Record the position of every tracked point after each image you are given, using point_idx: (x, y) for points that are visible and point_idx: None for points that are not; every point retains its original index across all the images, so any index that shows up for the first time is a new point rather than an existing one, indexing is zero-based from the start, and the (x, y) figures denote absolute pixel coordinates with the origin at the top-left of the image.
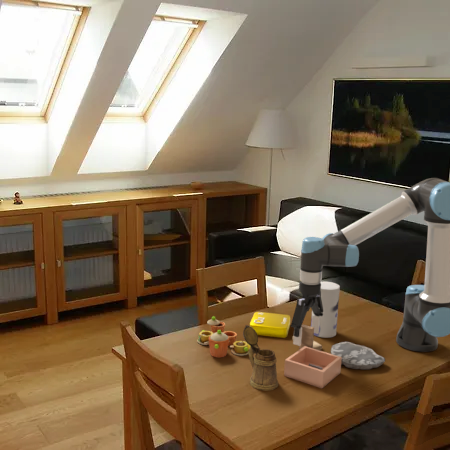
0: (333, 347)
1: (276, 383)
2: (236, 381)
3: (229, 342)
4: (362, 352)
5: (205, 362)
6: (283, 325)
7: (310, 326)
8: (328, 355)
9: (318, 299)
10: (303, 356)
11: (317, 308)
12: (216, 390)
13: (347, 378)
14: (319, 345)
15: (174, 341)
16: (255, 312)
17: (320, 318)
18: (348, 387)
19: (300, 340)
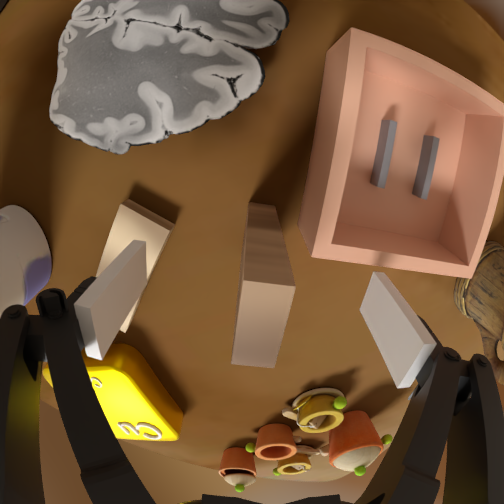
0: (133, 138)
1: (501, 248)
2: (470, 334)
3: (292, 434)
4: (121, 12)
5: (395, 415)
6: (109, 379)
7: (239, 311)
8: (357, 99)
9: (14, 471)
10: (340, 231)
11: (85, 400)
12: (498, 341)
13: (352, 23)
14: (129, 214)
15: (317, 470)
16: None
17: (3, 287)
18: (413, 21)
19: (397, 290)
